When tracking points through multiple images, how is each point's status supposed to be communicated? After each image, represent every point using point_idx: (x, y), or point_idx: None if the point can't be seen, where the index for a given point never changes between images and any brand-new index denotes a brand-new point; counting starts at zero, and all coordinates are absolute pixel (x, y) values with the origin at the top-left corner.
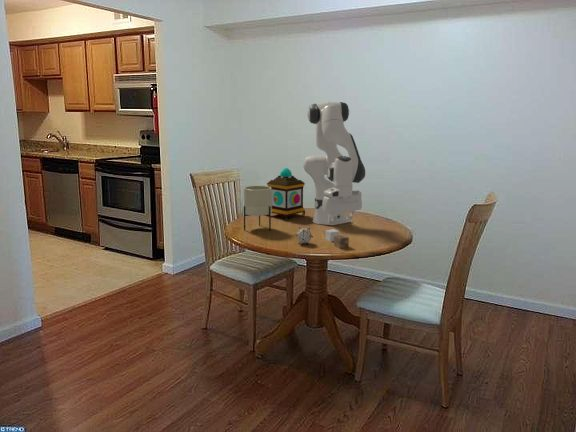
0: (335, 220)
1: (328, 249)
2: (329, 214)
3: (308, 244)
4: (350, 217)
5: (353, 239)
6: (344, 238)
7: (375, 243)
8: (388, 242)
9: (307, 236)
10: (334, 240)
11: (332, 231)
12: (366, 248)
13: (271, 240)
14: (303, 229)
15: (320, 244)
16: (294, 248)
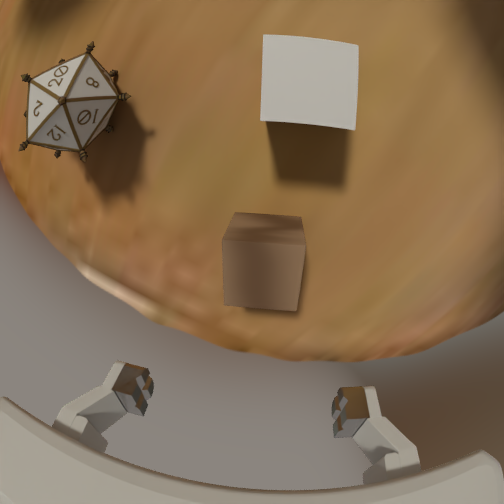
0: (151, 392)
1: (172, 253)
2: (70, 402)
3: (110, 129)
4: (336, 426)
5: (430, 158)
6: (261, 307)
7: (449, 279)
8: (486, 289)
9: (67, 150)
10: (228, 229)
11: (294, 102)
12: (357, 321)
13: (26, 32)
14: (34, 109)
15: (173, 148)
16: (46, 171)
